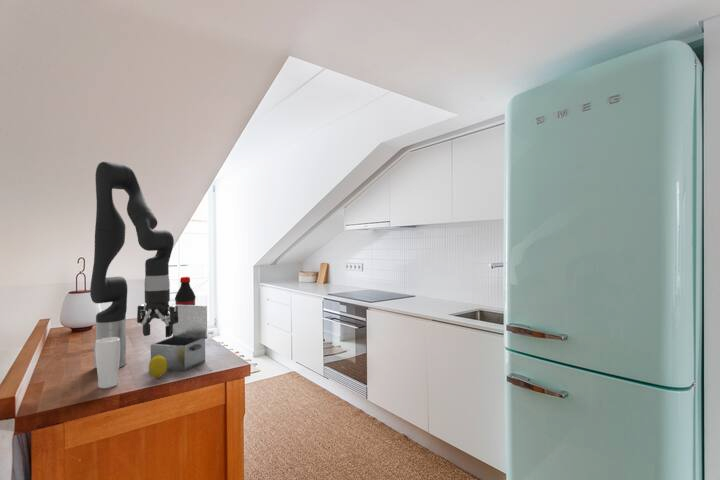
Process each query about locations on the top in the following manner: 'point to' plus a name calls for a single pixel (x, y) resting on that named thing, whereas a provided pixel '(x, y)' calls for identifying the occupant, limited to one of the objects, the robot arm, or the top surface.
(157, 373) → the lemon
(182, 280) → the cola bottle
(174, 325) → the lid
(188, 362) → the storage box
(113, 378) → the drinking glass
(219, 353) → the top surface
